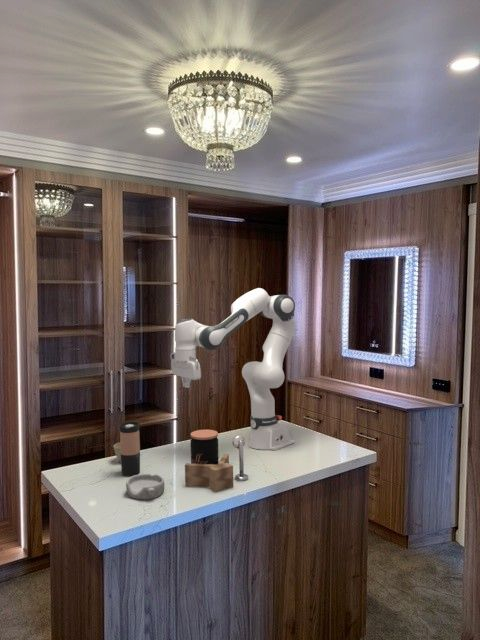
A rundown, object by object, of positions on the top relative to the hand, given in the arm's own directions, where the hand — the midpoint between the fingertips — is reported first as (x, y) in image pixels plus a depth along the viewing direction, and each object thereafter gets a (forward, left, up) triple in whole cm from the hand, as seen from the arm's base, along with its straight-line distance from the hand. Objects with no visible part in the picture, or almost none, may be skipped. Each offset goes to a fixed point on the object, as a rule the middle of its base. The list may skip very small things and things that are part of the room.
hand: (186, 387), depth 212 cm
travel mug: (+28, +3, -31) cm, 42 cm away
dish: (+31, +24, -31) cm, 50 cm away
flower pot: (+24, -12, -31) cm, 41 cm away
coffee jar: (+7, +27, -31) cm, 42 cm away
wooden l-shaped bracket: (+7, +33, -31) cm, 46 cm away
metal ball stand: (-4, +35, -31) cm, 47 cm away
